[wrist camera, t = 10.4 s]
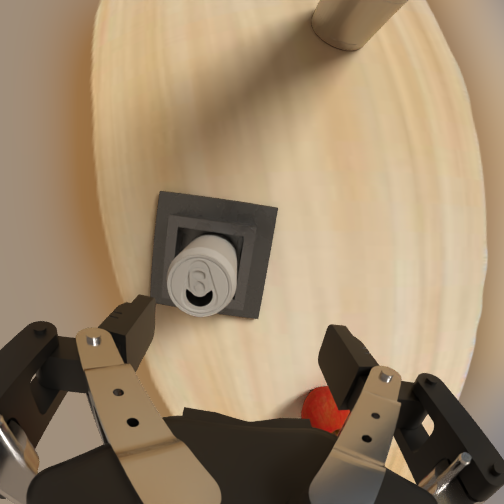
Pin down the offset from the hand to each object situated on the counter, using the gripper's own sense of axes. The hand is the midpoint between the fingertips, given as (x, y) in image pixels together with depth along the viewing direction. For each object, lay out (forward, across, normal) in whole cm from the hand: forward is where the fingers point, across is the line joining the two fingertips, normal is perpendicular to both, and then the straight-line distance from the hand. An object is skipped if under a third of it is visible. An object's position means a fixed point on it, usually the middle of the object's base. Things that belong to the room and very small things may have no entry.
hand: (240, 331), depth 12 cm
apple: (+24, -18, +24) cm, 39 cm away
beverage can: (+23, +3, +3) cm, 23 cm away
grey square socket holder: (+24, +3, +3) cm, 24 cm away
